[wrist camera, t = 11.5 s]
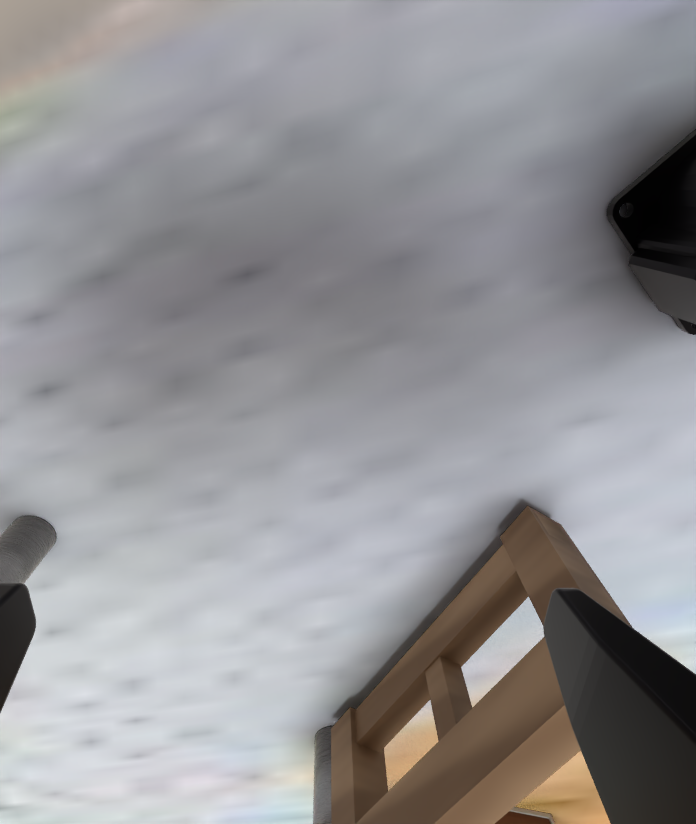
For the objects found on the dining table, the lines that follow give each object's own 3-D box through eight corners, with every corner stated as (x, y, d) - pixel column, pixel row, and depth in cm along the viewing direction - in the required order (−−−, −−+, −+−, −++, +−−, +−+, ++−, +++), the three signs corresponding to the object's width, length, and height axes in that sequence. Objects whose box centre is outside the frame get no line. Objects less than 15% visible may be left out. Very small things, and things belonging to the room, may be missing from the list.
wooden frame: (561, 524, 23) (666, 676, 16) (361, 740, 29) (372, 927, 22) (527, 505, 23) (620, 653, 16) (330, 728, 28) (331, 916, 21)
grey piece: (27, 508, 23) (-115, 657, 16) (356, 737, 30) (365, 916, 22) (1, 533, 23) (-148, 690, 16) (331, 753, 30) (332, 933, 23)
